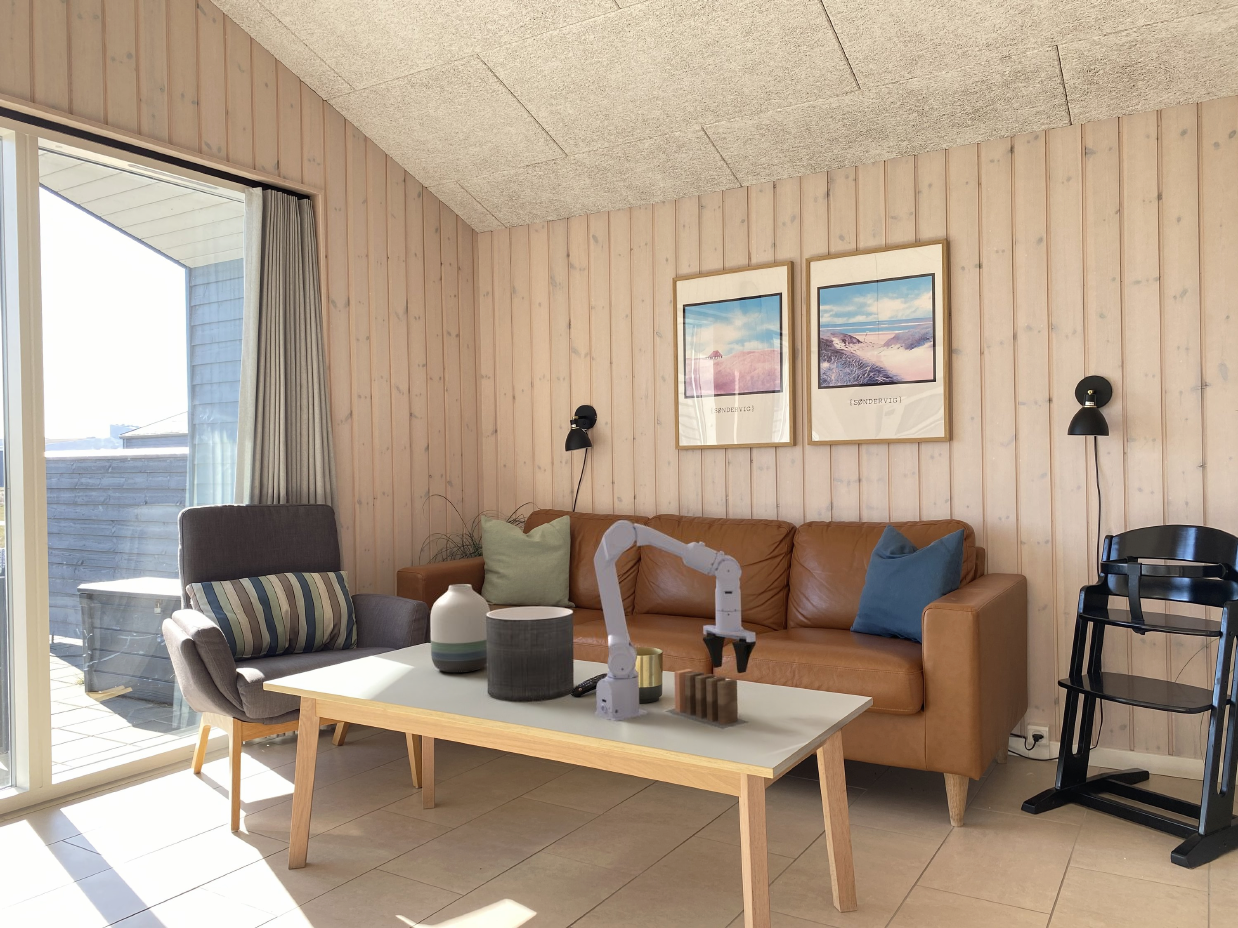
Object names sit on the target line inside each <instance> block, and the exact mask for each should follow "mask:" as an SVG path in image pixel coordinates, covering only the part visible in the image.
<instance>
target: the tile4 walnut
mask: <svg viewBox="0 0 1238 928" xmlns="http://www.w3.org/2000/svg"><path fill="white" fill-rule="evenodd" d="M702 675H705V673H704V672H703V671H700V670H699V671H693V673H688V674H685V714H687V715H690V716H691V715H695V714H696V686H695V677H697V676H702Z"/></svg>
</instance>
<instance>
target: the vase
mask: <svg viewBox="0 0 1238 928" xmlns="http://www.w3.org/2000/svg"><path fill="white" fill-rule="evenodd" d="M488 612H491V610H490V606H489V604H488V602H487V600H486V599H485V598H484V597H483V596H482V595H480V594H479V593H477V592H476V591H474V590H473V586H472V584H467V583H466V584H464V583H462V584H460V583H459V584H450V585H449V586H448V590H447V591H445V593H443V594H442V595H441V596H440V597H439V598H438V599H436V601H435V602H434V603H433V606H432V607H431V611H430V655H431V660H432V663H433V666H434V667H435V668H436V669H438V670H439V671H442V672H447V673H468V672H473V671H477V670H478V671H479V670H480V669H482V668H483V669H484V667H486V666H487V639H486V614H487V613H488Z"/></svg>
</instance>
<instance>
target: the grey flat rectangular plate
mask: <svg viewBox="0 0 1238 928" xmlns="http://www.w3.org/2000/svg"><path fill="white" fill-rule="evenodd" d="M664 712H666V713H668V714H672V715H676V716H679V717H683V718H686V719H689V720H692V721H696V722H698V723H702V724H706V725H709V726H711V727H712V726H713V727H716V728H719V729H721V730H722V729H727V728H728V729H729V728H731V727H735V726H738V725H742V724H747V723H749V722H750V720H749V721H748V720H744V719H741V718H738V722H734V723H731V724H727V725H721V724H718V721H714V722H710V721H707V717H706V718H702V719H700V718H697V717H696V714H695V715H691V716H690V715H687V714H685V711H684V712H676V711H675V708H672V709H667V710H664Z"/></svg>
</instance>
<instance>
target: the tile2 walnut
mask: <svg viewBox="0 0 1238 928" xmlns="http://www.w3.org/2000/svg"><path fill="white" fill-rule="evenodd" d="M725 680H727V677H725V676H716V677H715V678H711V679H706V694H707V721H710V722H714V721H718V687H717V682H720V681H725Z"/></svg>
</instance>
